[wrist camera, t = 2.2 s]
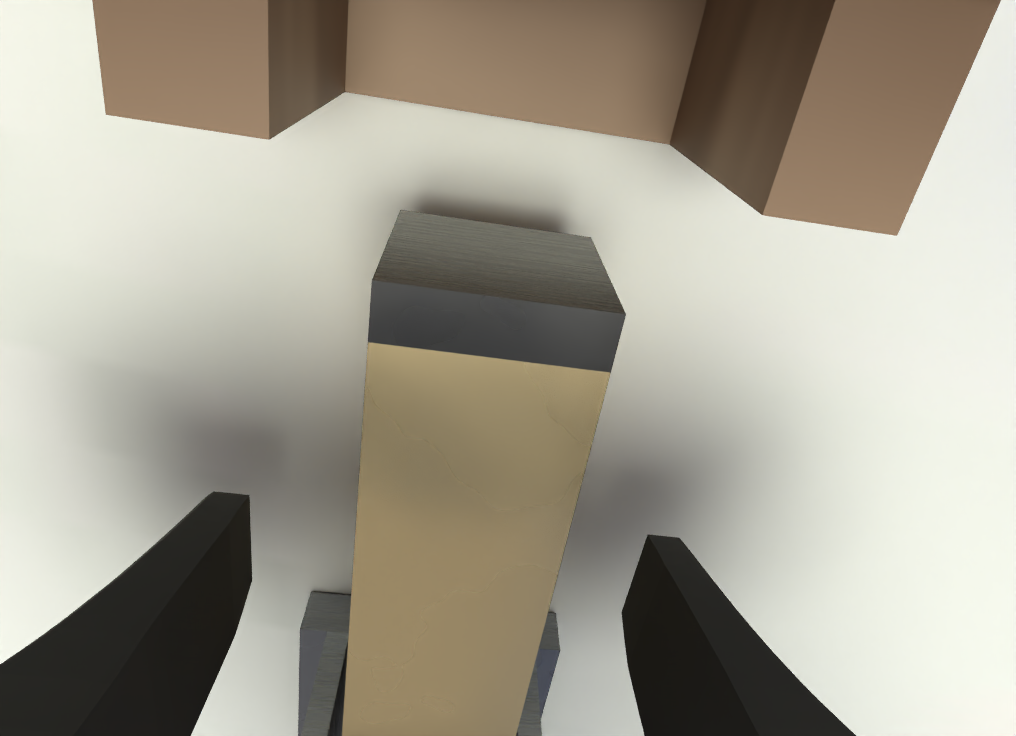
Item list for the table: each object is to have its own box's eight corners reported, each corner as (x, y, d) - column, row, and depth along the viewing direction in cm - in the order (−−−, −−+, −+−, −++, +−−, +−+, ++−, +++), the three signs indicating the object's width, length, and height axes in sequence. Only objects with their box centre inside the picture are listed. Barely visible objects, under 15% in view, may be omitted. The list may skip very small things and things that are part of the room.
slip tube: (471, 776, 17) (468, 914, 15) (354, 768, 17) (330, 908, 14) (590, 237, 11) (625, 314, 8) (400, 209, 10) (371, 279, 8)
